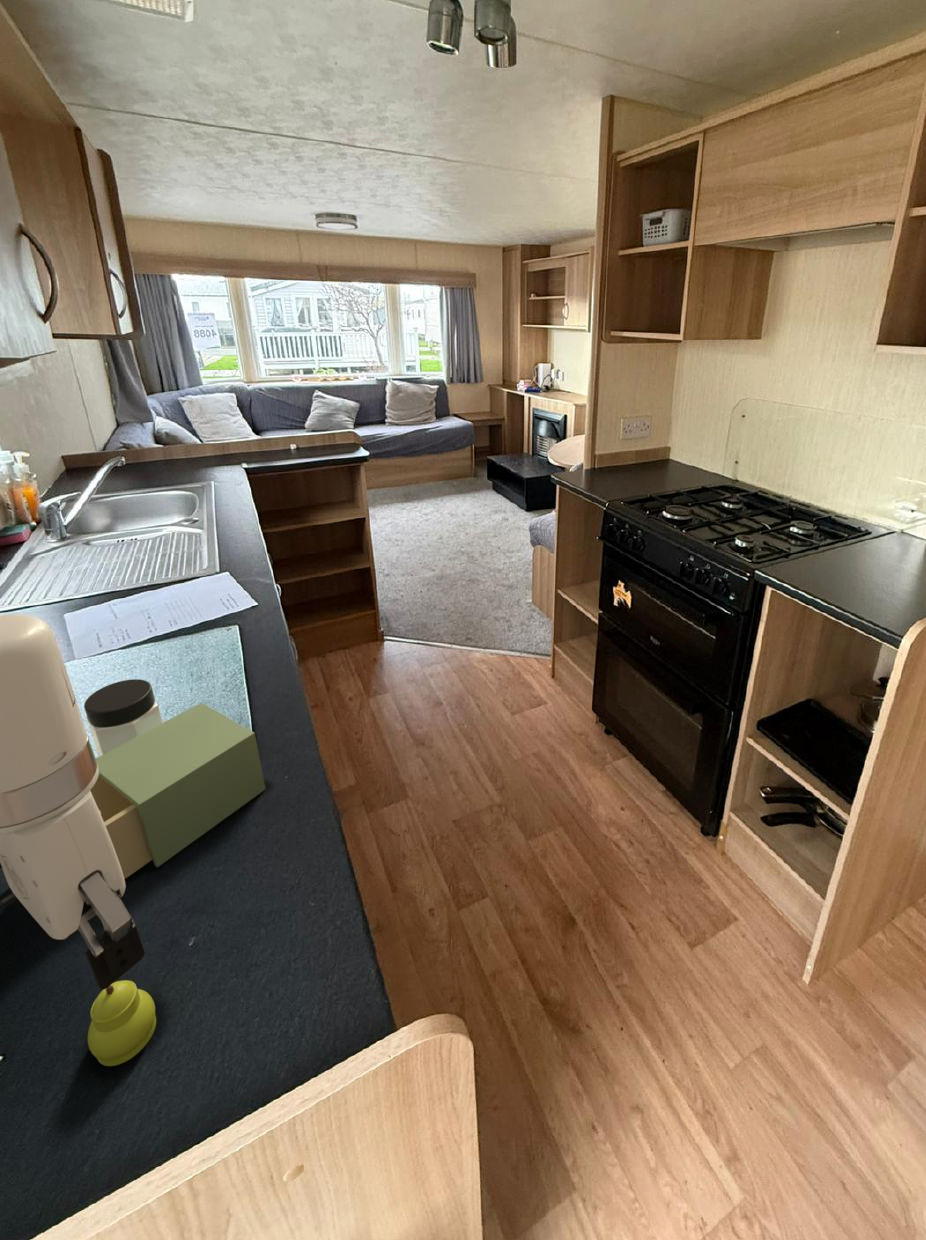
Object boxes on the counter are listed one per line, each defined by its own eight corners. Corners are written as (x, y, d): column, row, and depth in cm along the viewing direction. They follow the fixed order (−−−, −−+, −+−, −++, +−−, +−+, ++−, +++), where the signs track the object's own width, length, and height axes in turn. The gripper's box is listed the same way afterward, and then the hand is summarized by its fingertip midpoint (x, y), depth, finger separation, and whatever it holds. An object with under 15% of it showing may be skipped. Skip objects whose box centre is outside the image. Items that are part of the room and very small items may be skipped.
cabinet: (158, 872, 69) (139, 804, 65) (107, 827, 75) (86, 763, 71) (266, 794, 81) (254, 732, 77) (214, 760, 87) (201, 702, 83)
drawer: (9, 969, 58) (-19, 906, 55) (-33, 912, 63) (-60, 852, 60) (190, 839, 72) (176, 784, 69) (143, 802, 78) (128, 750, 75)
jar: (176, 737, 92) (160, 673, 87) (164, 773, 84) (146, 705, 80) (111, 750, 89) (92, 684, 85) (93, 787, 82) (70, 718, 77)
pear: (85, 1052, 52) (62, 997, 49) (143, 1000, 56) (125, 946, 53) (112, 1088, 49) (89, 1032, 47) (171, 1031, 53) (153, 976, 51)
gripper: (-76, 766, 44) (-3, 925, 49) (17, 870, 35) (92, 1047, 41) (42, 712, 50) (95, 860, 55) (146, 790, 41) (195, 955, 47)
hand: (93, 939), depth 48 cm, fingers open, 9 cm apart
